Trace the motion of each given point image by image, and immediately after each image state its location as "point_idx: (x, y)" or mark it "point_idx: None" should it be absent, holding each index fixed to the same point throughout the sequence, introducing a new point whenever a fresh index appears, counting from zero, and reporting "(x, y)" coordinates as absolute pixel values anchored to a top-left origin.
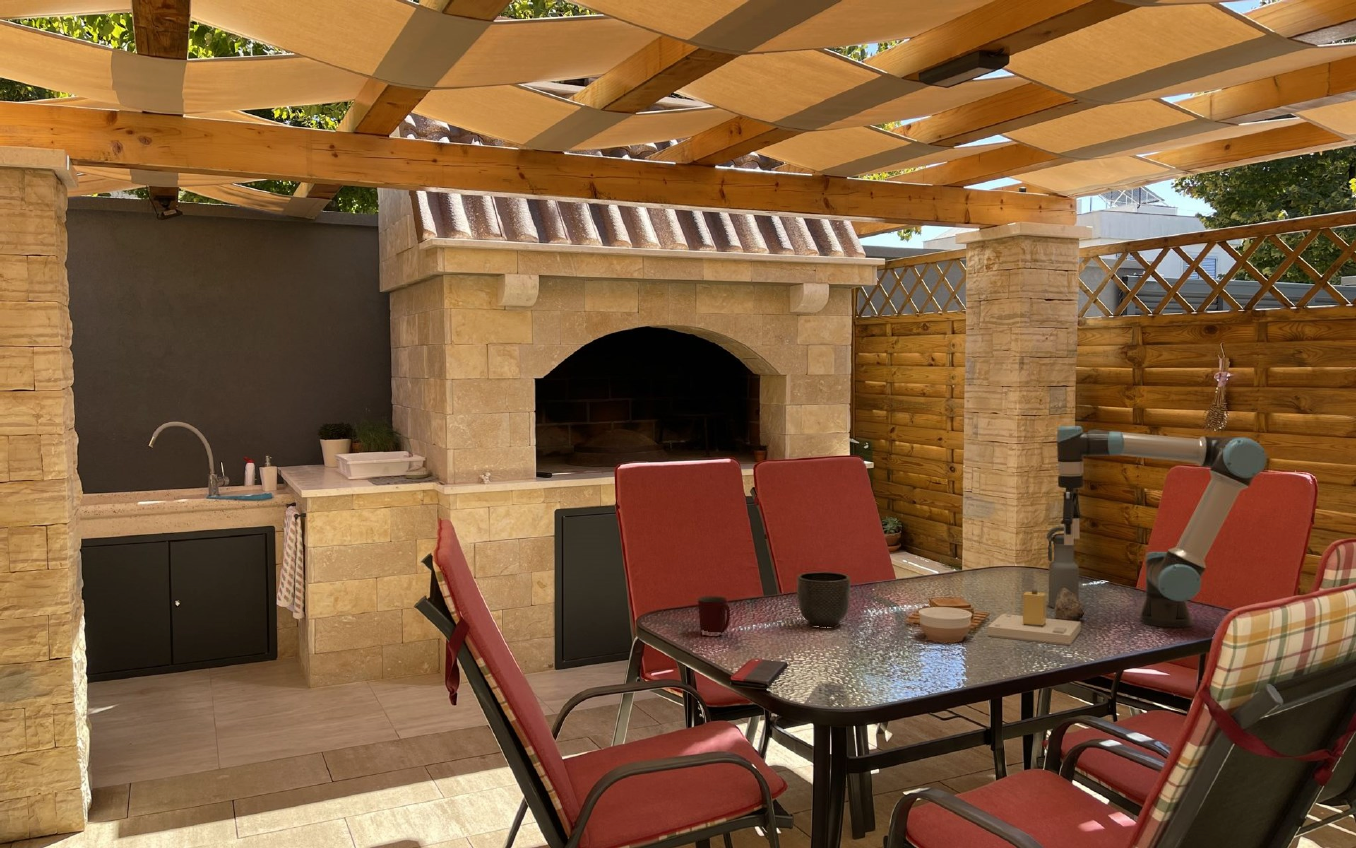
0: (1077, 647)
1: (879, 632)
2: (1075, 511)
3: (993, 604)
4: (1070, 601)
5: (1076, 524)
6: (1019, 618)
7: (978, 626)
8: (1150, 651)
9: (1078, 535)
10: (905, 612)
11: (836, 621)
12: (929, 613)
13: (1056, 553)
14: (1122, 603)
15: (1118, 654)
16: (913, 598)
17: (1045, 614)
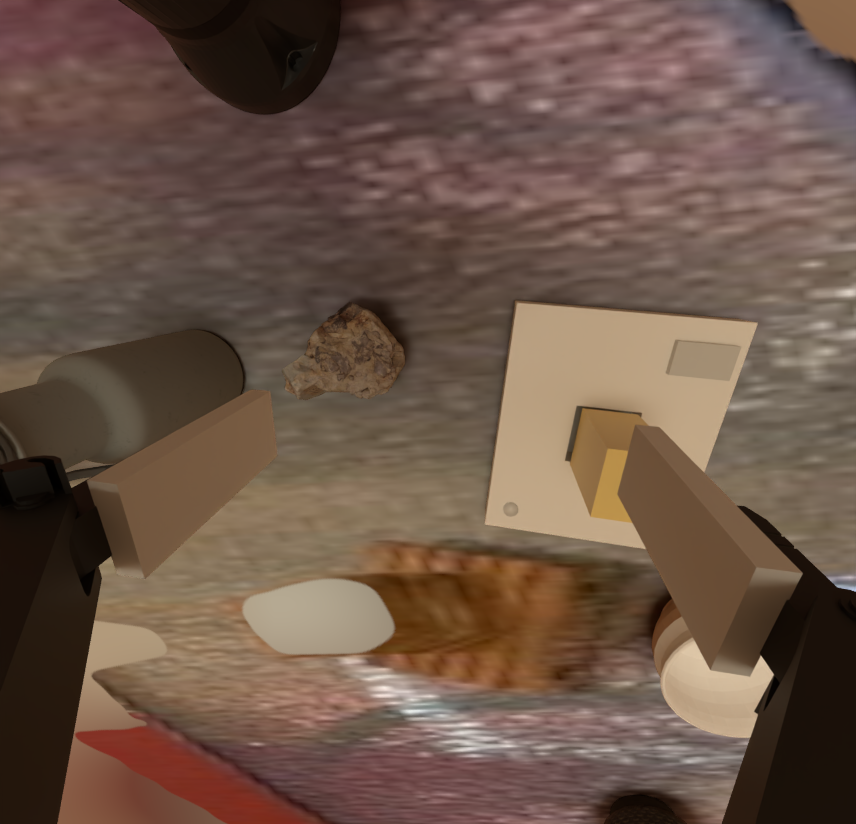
0: (758, 293)
1: (681, 733)
2: (54, 614)
3: (272, 536)
4: (364, 352)
5: (184, 472)
6: (531, 480)
7: (546, 558)
8: (778, 16)
9: (253, 407)
10: (452, 694)
11: (678, 817)
12: (683, 701)
13: (68, 462)
14: (49, 200)
15: (851, 142)
16: (302, 683)
17: (601, 419)
